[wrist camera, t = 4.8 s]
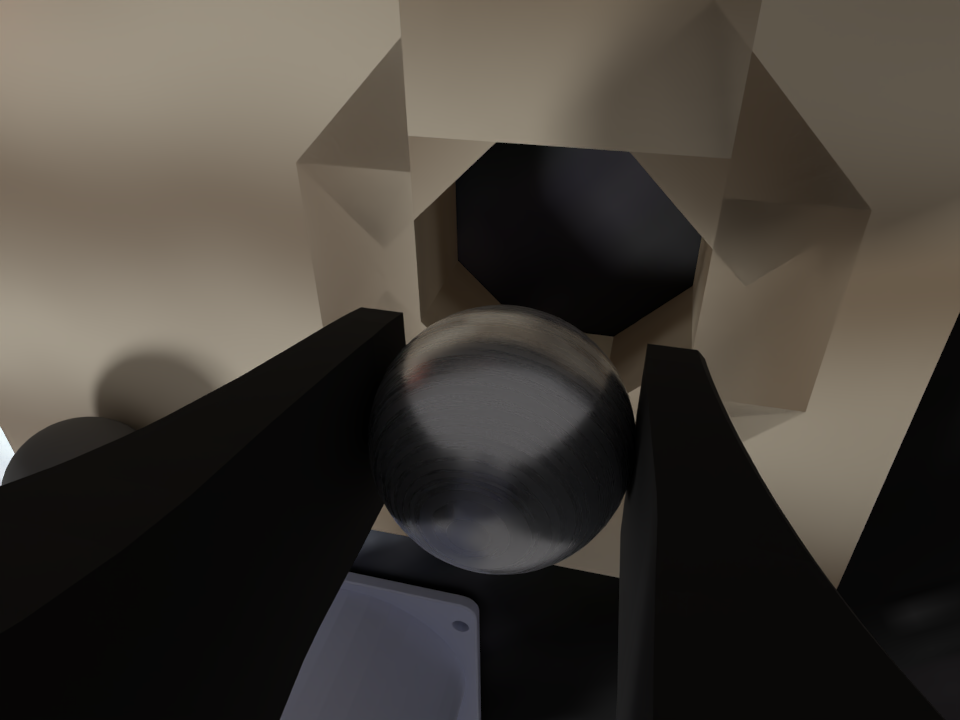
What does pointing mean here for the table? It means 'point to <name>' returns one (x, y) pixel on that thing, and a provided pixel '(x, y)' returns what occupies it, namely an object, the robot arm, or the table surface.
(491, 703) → the table surface
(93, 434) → the black ball
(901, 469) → the table surface
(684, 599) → the robot arm
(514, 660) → the table surface
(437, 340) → the steel ball
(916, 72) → the maple board
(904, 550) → the table surface
